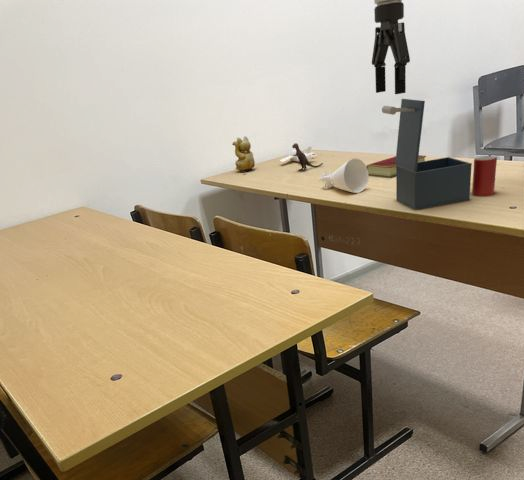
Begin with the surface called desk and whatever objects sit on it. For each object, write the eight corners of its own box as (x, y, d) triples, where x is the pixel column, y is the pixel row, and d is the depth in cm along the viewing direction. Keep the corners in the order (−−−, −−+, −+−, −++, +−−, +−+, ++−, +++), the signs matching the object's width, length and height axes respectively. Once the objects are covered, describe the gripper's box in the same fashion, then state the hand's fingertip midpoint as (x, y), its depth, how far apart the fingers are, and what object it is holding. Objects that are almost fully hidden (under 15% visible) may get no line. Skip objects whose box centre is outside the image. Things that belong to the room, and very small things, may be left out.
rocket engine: (317, 160, 196) (350, 151, 181) (339, 175, 203) (372, 168, 188) (307, 188, 196) (339, 182, 181) (329, 203, 202) (362, 198, 187)
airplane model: (307, 156, 262) (305, 140, 258) (330, 159, 246) (329, 142, 243) (272, 164, 254) (270, 148, 250) (294, 168, 239) (293, 151, 235)
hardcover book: (366, 175, 209) (366, 164, 207) (402, 164, 219) (402, 153, 217) (389, 177, 200) (389, 166, 198) (425, 166, 210) (426, 154, 208)
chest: (447, 191, 173) (448, 156, 168) (469, 200, 161) (471, 163, 156) (396, 200, 171) (396, 165, 166) (414, 209, 159) (415, 173, 154)
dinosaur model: (290, 143, 226) (319, 139, 232) (291, 171, 232) (319, 166, 238) (295, 144, 223) (324, 140, 229) (296, 173, 229) (324, 168, 235)
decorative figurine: (247, 168, 254) (243, 134, 247) (260, 168, 249) (256, 134, 242) (233, 172, 248) (228, 138, 241) (246, 173, 243) (241, 138, 236)
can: (487, 189, 169) (490, 154, 163) (497, 194, 163) (501, 157, 158) (468, 192, 168) (470, 157, 163) (477, 197, 163) (480, 161, 158)
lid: (404, 98, 157) (377, 99, 156) (425, 100, 145) (396, 101, 144) (397, 164, 166) (372, 165, 164) (416, 171, 154) (389, 172, 153)
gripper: (358, 10, 149) (361, 93, 159) (394, -1, 127) (395, 96, 138) (383, 6, 150) (385, 89, 160) (424, -5, 128) (422, 92, 138)
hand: (390, 92), depth 149 cm, fingers open, 13 cm apart
